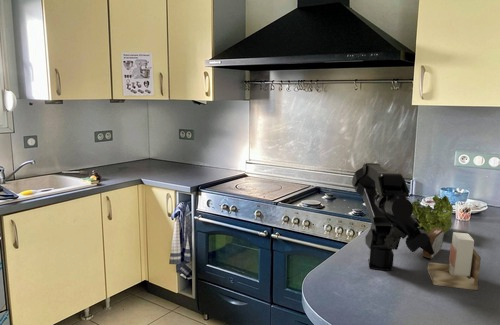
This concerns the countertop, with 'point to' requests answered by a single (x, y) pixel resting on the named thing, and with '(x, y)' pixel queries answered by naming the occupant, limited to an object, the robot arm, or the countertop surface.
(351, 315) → the countertop surface
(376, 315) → the countertop surface
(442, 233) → the tin
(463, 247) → the white milk carton
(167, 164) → the countertop surface
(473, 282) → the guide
